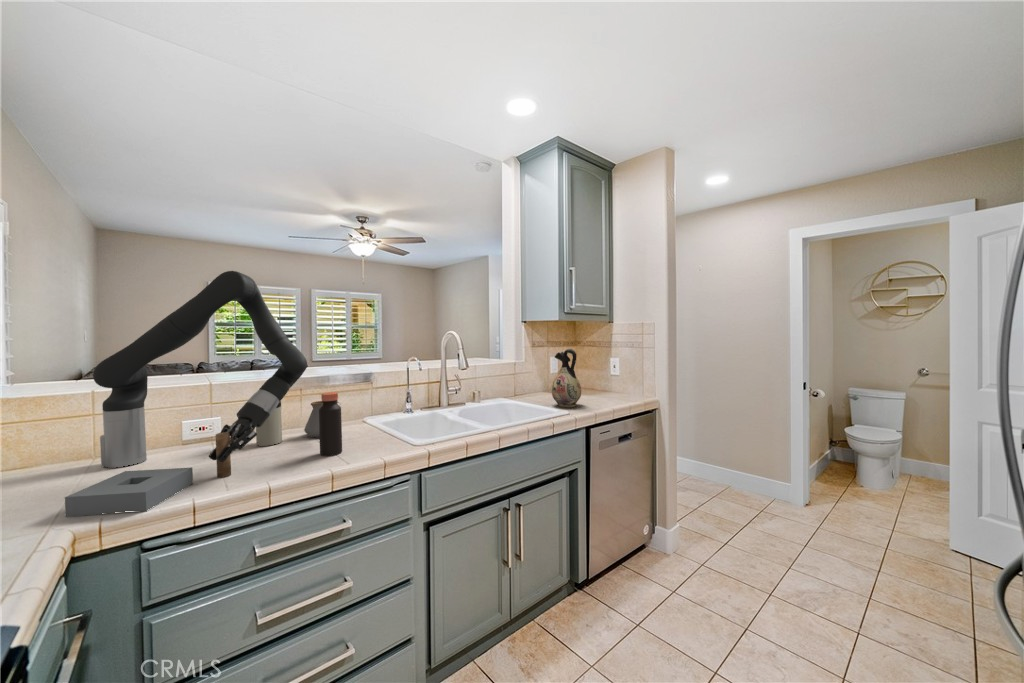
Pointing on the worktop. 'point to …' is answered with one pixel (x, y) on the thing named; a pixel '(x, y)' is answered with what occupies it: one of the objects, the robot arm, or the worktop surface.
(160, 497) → the hole block
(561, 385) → the ceramic jug
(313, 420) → the coffee pot
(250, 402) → the robot arm
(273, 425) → the travel mug
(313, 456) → the worktop surface
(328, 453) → the bottle
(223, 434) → the peg
